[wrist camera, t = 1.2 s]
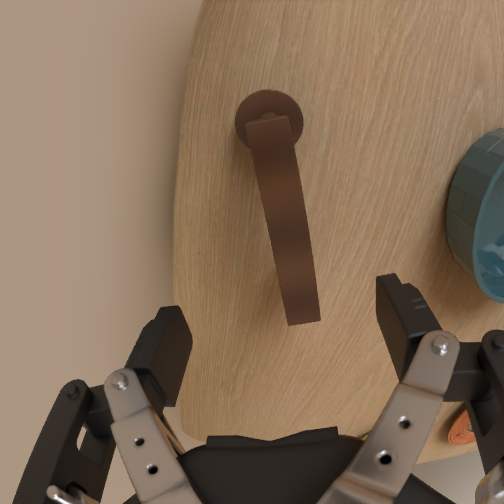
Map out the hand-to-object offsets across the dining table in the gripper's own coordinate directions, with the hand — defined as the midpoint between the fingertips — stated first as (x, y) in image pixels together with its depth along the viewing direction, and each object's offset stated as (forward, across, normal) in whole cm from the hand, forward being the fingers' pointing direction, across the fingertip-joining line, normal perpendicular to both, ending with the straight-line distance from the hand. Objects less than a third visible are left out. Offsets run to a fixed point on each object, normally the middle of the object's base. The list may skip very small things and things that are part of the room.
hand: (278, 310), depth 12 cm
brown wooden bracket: (+17, -1, -1) cm, 17 cm away
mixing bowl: (+16, -25, +5) cm, 30 cm away
